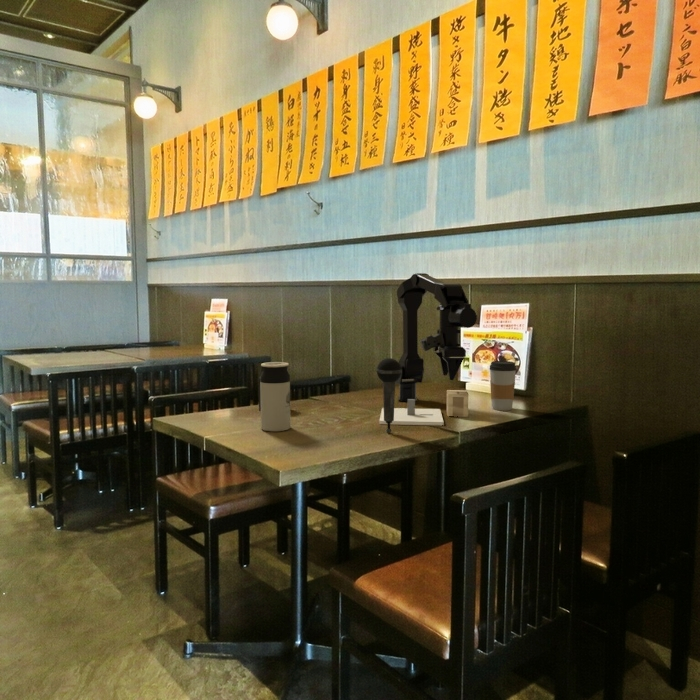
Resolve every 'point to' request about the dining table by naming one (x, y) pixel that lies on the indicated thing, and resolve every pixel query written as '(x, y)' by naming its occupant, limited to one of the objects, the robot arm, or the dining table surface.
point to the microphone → (389, 386)
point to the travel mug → (275, 396)
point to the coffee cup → (502, 384)
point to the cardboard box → (457, 403)
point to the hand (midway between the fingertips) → (448, 377)
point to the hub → (414, 416)
